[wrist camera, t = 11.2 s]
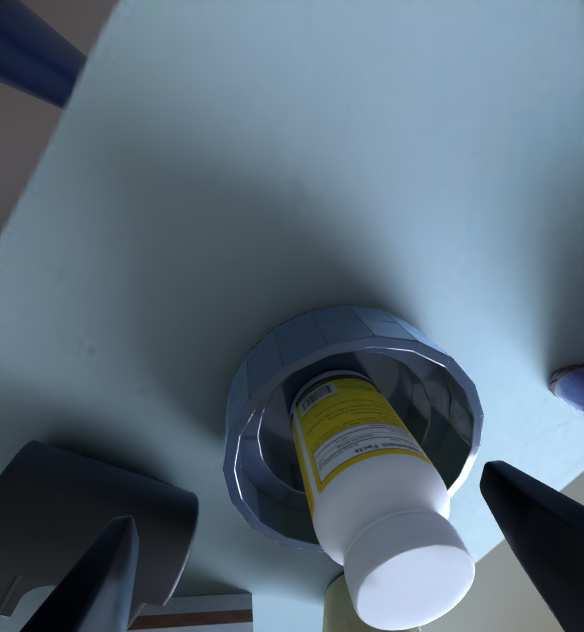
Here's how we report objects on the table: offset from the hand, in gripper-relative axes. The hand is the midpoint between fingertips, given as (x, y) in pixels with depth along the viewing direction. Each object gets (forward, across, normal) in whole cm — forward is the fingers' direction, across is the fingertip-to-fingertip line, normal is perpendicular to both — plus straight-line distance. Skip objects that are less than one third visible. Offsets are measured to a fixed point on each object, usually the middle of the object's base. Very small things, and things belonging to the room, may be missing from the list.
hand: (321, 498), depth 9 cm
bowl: (+12, -4, +7) cm, 15 cm away
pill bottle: (+12, -4, +7) cm, 14 cm away
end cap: (+13, +11, +11) cm, 20 cm away
